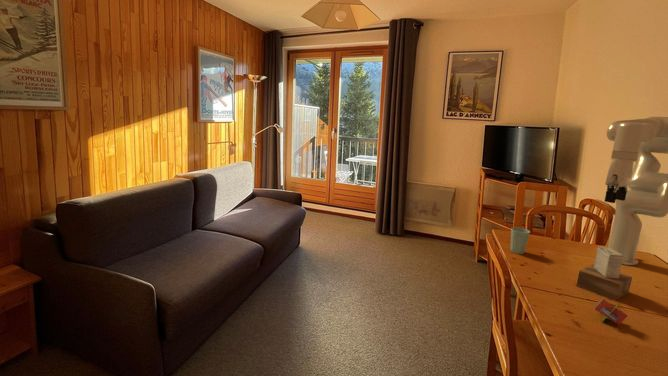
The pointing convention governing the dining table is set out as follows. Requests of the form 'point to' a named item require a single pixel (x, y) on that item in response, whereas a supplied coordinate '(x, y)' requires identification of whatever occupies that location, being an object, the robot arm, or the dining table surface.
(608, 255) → the medicine box
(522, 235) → the cup
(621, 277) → the walnut block
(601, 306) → the geometric puzzle
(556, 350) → the dining table surface
